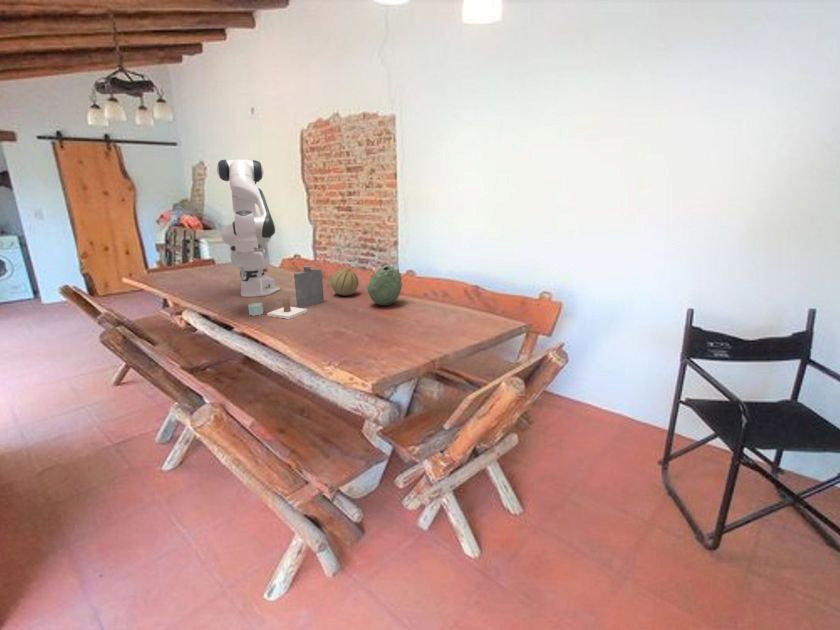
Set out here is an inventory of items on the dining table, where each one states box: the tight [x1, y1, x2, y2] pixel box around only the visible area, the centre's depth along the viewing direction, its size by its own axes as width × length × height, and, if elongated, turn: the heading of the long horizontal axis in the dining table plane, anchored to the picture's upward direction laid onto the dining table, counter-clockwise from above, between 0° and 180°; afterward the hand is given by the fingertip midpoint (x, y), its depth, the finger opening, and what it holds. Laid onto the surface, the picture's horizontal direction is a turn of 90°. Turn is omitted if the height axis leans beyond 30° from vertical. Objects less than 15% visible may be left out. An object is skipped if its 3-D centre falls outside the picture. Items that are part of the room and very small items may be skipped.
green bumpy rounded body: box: [366, 264, 403, 307], centre depth 220 cm, size 16×19×20 cm
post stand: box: [266, 295, 308, 320], centre depth 208 cm, size 13×13×8 cm
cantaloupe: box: [330, 268, 359, 297], centre depth 240 cm, size 15×15×15 cm
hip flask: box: [293, 265, 325, 309], centre depth 222 cm, size 16×4×20 cm, turn 140°
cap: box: [247, 302, 264, 317], centre depth 209 cm, size 6×6×5 cm
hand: (251, 276), depth 204 cm, fingers open, 8 cm apart
